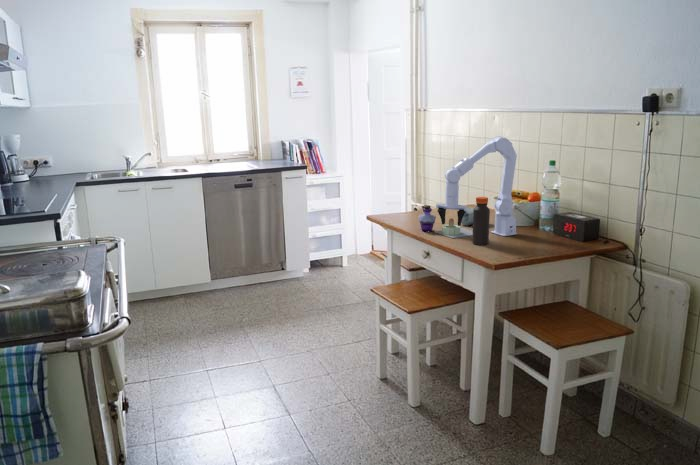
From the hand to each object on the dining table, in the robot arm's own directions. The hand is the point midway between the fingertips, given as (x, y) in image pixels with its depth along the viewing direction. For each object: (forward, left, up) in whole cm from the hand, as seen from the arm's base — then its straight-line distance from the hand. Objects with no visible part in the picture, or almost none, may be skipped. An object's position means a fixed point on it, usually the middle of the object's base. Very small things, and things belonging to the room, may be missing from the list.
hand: (451, 224), depth 265 cm
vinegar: (-21, 0, -4) cm, 21 cm away
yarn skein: (+11, -21, -4) cm, 24 cm away
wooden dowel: (0, 0, -4) cm, 4 cm away
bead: (0, 0, -4) cm, 4 cm away
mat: (-1, -3, -4) cm, 5 cm away
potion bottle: (+11, +6, -4) cm, 13 cm away
